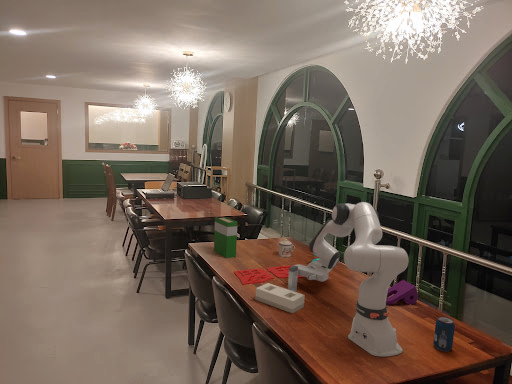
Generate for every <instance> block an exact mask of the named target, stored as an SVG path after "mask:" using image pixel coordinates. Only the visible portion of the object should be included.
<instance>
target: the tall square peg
mask: <svg viewBox="0 0 512 384" xmlns="http://www.w3.org/2000/svg"><path fill="white" fill-rule="evenodd" d="M295 265H296V264H294V265H293V266H291V267H289V275H288V276H289V277H288V278H287V279H288V282H287V289H288V290H291V291H294V292H297V289H298V287H297V286H298V278H297V277H298V266H295Z"/></svg>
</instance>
